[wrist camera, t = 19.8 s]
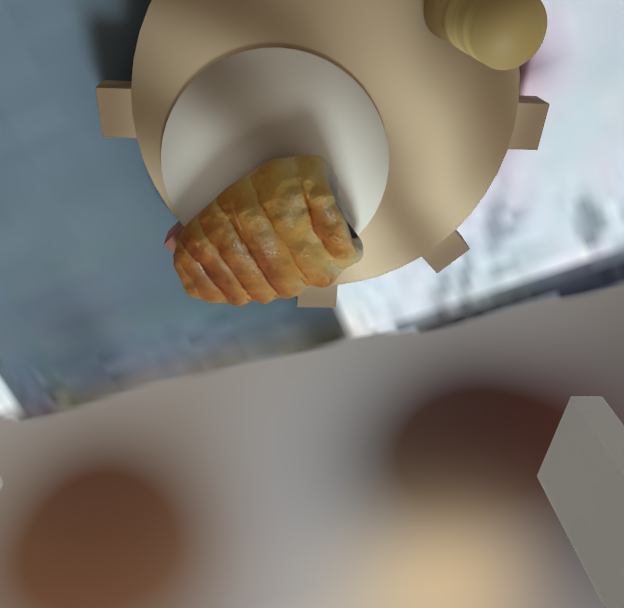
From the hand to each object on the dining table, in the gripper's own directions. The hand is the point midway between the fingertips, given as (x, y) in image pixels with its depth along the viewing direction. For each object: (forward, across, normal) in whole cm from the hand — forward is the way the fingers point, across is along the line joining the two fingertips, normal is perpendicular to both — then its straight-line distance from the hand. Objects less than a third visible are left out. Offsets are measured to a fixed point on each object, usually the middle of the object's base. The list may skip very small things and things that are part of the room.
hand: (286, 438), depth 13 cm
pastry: (+18, 0, -3) cm, 18 cm away
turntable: (+19, +3, +2) cm, 20 cm away
